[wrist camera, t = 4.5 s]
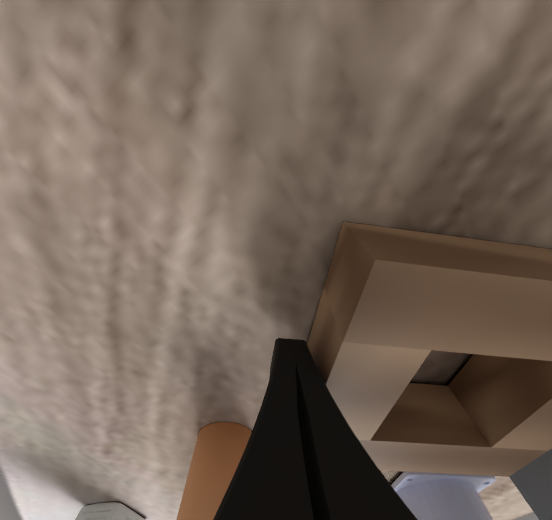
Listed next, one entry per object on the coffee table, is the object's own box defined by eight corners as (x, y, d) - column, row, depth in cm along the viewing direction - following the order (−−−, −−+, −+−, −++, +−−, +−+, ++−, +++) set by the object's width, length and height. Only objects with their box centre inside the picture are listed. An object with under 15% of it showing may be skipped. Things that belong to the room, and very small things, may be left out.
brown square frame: (467, 416, 15) (509, 476, 12) (289, 404, 14) (293, 466, 11) (624, 259, 9) (765, 306, 7) (343, 221, 8) (375, 259, 6)
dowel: (251, 451, 17) (236, 664, 10) (199, 448, 17) (146, 666, 10) (256, 423, 15) (242, 662, 8) (197, 420, 15) (131, 665, 8)
